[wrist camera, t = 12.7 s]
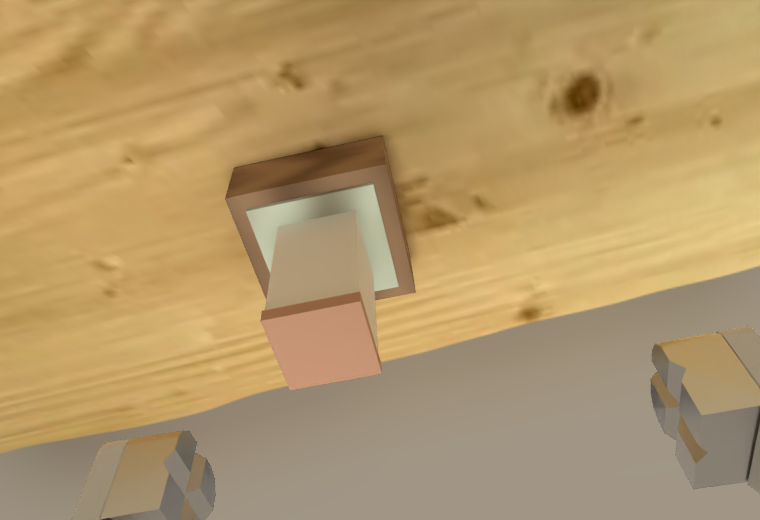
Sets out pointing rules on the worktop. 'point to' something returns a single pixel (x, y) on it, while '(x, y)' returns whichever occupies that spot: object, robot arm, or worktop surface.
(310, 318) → the two-tone lidded box
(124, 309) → the worktop surface
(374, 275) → the base
